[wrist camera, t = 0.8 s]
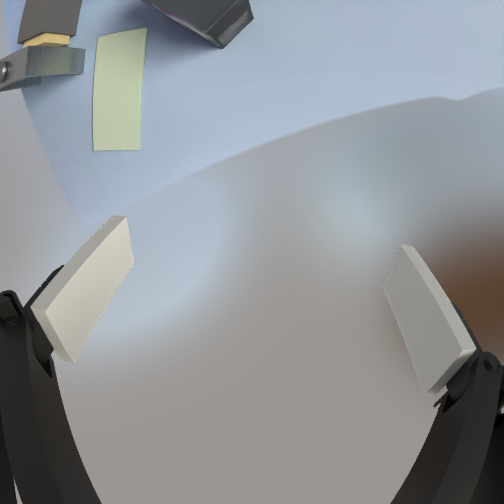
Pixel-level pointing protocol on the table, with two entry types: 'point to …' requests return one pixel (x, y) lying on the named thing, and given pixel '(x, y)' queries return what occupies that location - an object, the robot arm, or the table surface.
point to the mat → (118, 90)
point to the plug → (49, 22)
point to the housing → (38, 65)
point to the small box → (208, 17)
